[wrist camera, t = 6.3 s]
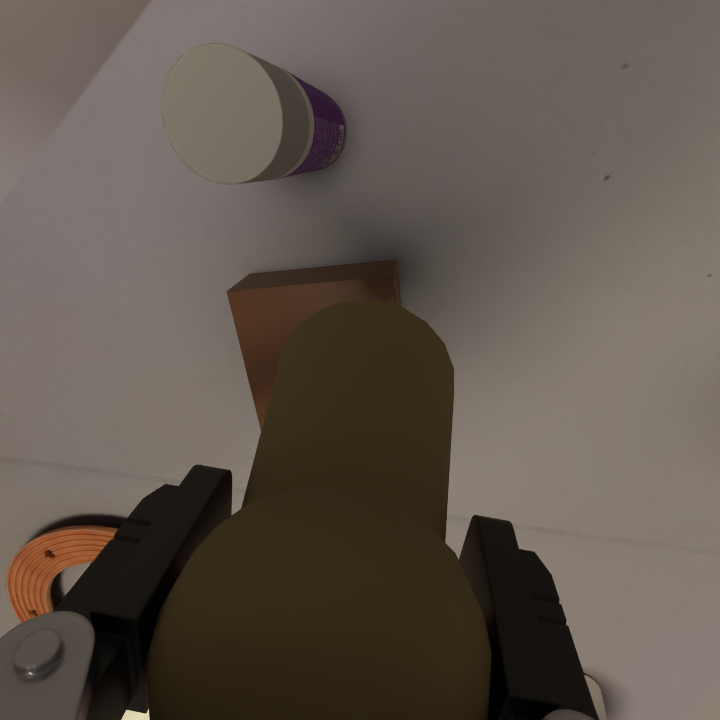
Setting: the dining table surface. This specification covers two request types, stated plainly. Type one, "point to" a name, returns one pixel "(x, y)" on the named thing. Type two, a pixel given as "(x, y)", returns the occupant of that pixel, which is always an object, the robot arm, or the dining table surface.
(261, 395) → the walnut block
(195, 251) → the dining table surface
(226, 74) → the container
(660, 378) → the dining table surface
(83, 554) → the ring
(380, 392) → the olive pawn
